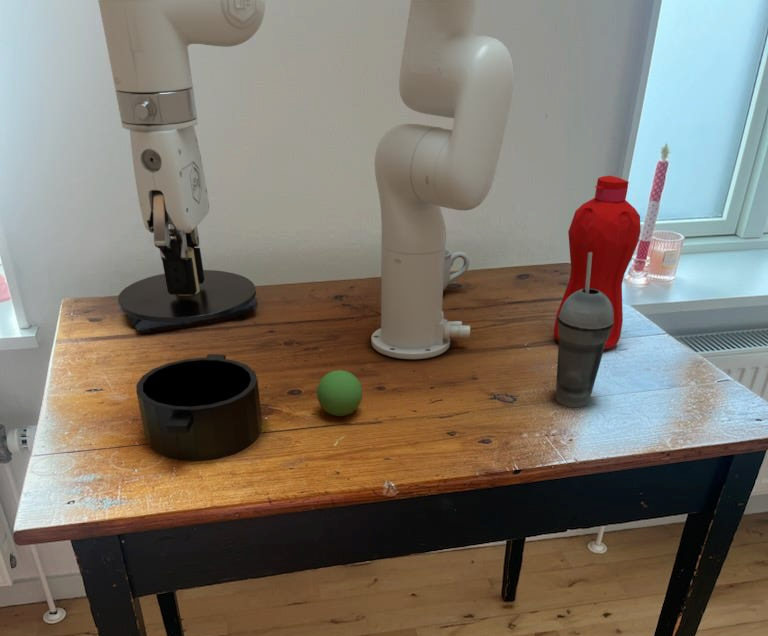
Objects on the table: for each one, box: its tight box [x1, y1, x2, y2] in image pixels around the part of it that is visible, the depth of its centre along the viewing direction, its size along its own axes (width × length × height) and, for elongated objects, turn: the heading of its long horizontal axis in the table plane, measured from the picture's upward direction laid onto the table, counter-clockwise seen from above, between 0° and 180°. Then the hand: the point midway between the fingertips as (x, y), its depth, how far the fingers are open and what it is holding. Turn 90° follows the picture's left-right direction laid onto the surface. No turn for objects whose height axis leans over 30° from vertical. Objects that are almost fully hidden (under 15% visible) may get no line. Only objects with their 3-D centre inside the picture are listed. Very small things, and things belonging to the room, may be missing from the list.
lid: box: [117, 247, 257, 323], centre depth 86 cm, size 16×16×6 cm
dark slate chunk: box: [128, 297, 258, 334], centre depth 129 cm, size 15×22×5 cm
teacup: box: [443, 247, 470, 291], centre depth 138 cm, size 14×11×8 cm
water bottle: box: [553, 174, 642, 350], centre depth 115 cm, size 9×11×25 cm
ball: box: [316, 369, 363, 417], centre depth 100 cm, size 6×6×6 cm
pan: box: [135, 353, 263, 462], centre depth 95 cm, size 15×20×7 cm
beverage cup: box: [555, 252, 614, 408], centre depth 99 cm, size 7×7×20 cm
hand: (186, 286), depth 87 cm, fingers closed on lid, 2 cm apart
